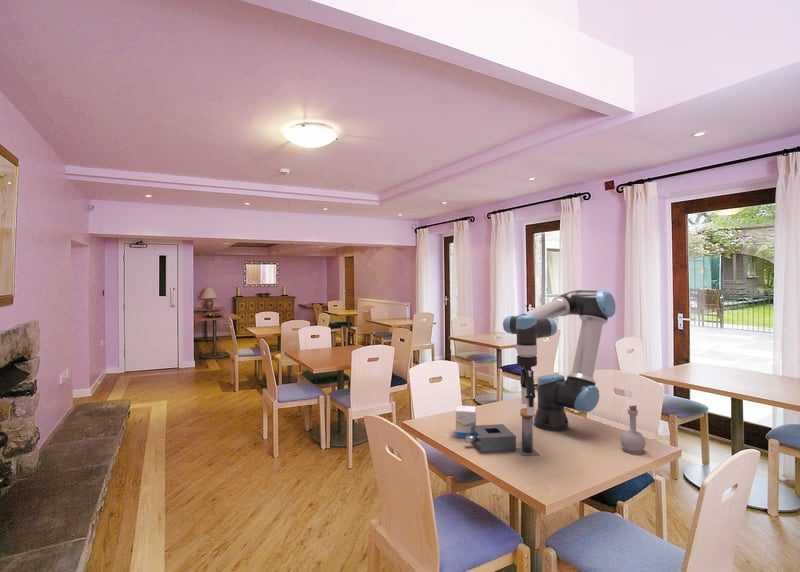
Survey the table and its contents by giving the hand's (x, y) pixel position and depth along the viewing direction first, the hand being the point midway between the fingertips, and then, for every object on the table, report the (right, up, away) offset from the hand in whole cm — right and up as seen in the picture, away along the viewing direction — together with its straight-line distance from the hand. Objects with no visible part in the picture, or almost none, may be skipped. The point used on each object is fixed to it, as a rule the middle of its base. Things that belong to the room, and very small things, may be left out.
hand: (527, 409), depth 167 cm
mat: (0, -17, 0) cm, 17 cm away
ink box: (-21, -17, +19) cm, 33 cm away
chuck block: (-14, -17, +7) cm, 23 cm away
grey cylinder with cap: (0, -16, 0) cm, 16 cm away
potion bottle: (+42, -17, +1) cm, 45 cm away
